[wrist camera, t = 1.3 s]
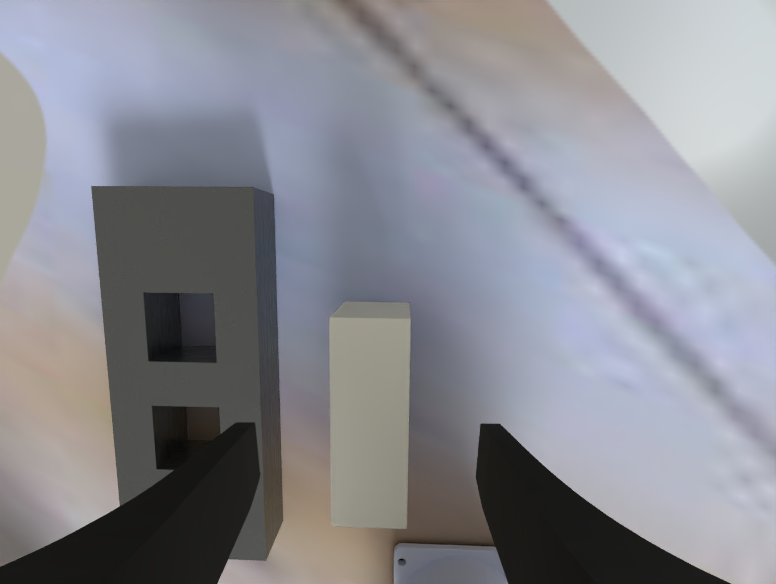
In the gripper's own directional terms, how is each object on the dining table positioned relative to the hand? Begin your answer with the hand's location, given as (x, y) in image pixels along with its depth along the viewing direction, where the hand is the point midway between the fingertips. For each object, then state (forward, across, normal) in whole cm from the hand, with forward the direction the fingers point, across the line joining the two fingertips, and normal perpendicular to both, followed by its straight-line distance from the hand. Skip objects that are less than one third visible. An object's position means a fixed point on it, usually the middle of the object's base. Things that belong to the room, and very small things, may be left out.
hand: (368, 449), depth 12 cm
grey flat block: (+10, +10, +2) cm, 14 cm away
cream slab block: (+10, 0, +2) cm, 10 cm away
